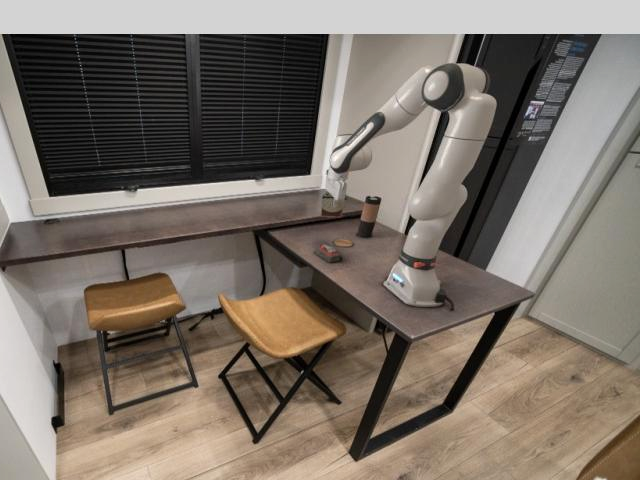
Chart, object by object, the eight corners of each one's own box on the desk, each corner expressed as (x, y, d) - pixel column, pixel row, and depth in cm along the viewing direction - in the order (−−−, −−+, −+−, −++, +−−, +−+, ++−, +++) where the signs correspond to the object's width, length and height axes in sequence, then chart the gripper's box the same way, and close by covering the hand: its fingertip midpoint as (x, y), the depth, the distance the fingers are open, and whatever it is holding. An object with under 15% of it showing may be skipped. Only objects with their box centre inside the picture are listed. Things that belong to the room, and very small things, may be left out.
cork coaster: (354, 247, 154) (355, 246, 153) (337, 247, 153) (337, 246, 153) (349, 240, 161) (349, 239, 161) (331, 239, 161) (332, 239, 161)
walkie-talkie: (346, 261, 141) (320, 244, 156) (348, 252, 138) (322, 236, 153) (330, 264, 138) (305, 246, 153) (332, 255, 135) (307, 238, 150)
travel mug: (366, 239, 162) (376, 200, 151) (353, 234, 168) (362, 197, 156) (374, 236, 166) (384, 198, 155) (362, 231, 171) (371, 194, 160)
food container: (341, 213, 152) (346, 192, 147) (344, 217, 147) (348, 196, 142) (316, 212, 153) (319, 191, 147) (317, 216, 148) (321, 194, 142)
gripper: (352, 179, 130) (345, 212, 138) (338, 169, 147) (332, 198, 155) (338, 179, 130) (331, 212, 138) (325, 169, 147) (320, 198, 155)
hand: (332, 204), depth 147 cm, fingers closed on food container, 5 cm apart
